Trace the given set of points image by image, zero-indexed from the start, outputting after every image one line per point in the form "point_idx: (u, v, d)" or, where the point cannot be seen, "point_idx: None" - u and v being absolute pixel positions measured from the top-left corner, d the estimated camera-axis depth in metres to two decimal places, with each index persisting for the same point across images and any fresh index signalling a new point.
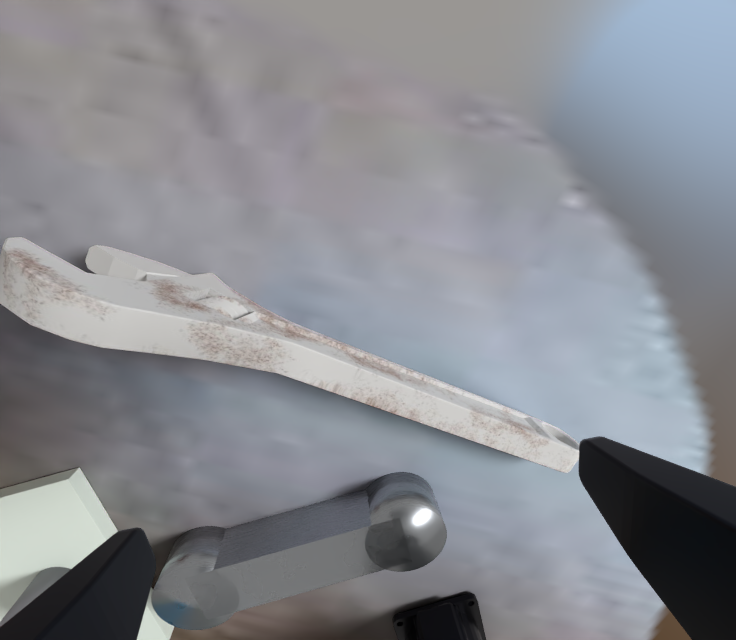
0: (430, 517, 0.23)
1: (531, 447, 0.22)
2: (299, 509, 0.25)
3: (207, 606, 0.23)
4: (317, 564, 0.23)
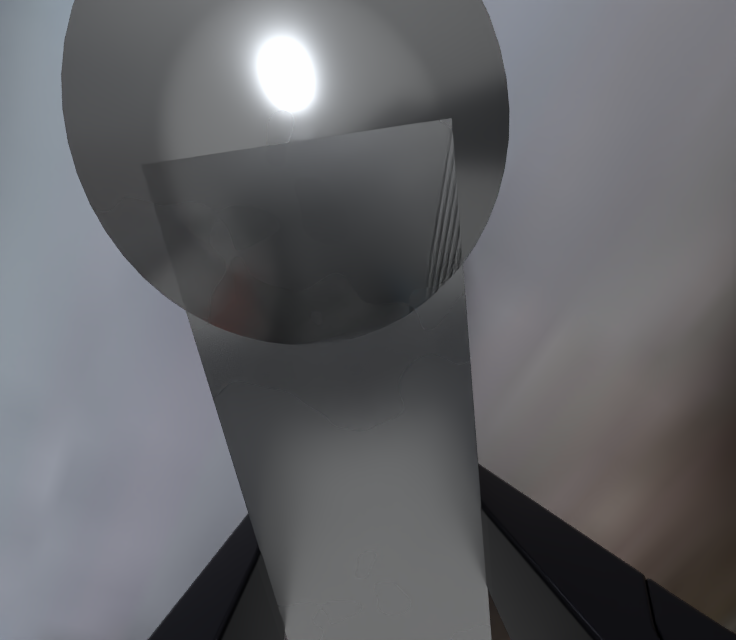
0: None
1: None
2: None
3: None
4: (367, 517, 0.06)
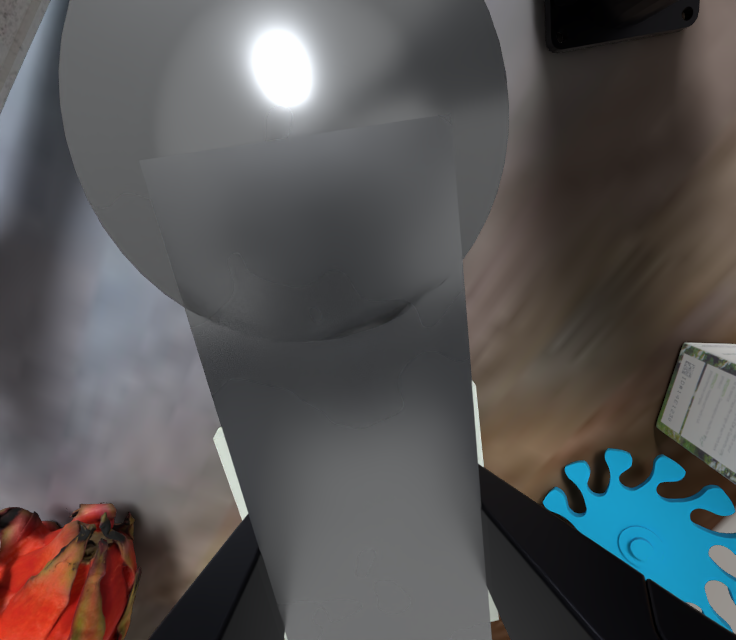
0: None
1: None
2: None
3: None
4: (366, 515, 0.06)
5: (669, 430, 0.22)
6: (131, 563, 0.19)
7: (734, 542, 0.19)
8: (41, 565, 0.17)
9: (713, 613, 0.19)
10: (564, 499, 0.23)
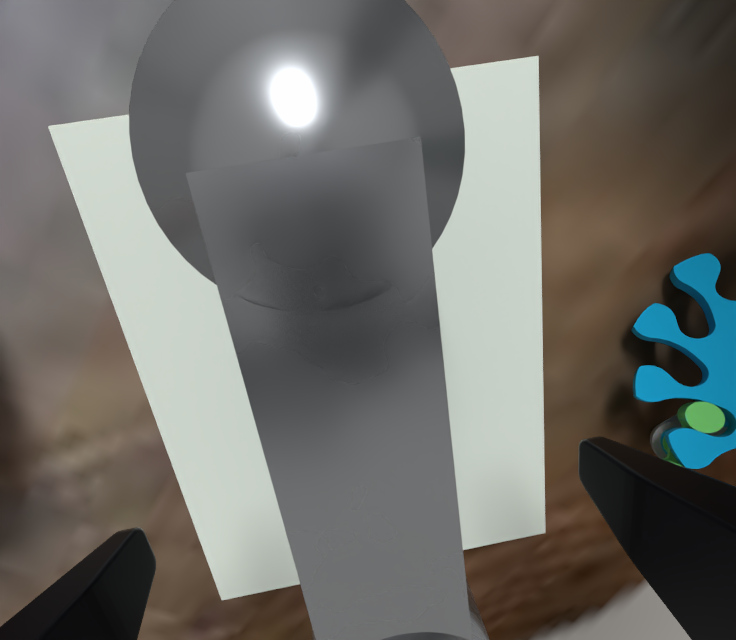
0: (194, 28, 0.05)
1: None
2: None
3: None
4: (359, 457, 0.07)
5: None
6: None
7: None
8: None
9: None
10: (672, 315, 0.14)
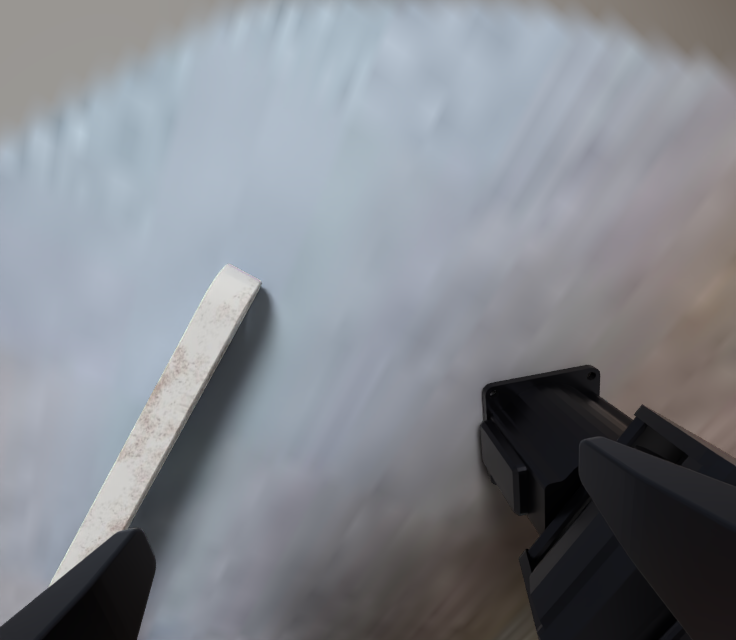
0: None
1: (186, 371, 0.16)
2: None
3: None
4: None
5: None
6: None
7: None
8: None
9: None
10: None
